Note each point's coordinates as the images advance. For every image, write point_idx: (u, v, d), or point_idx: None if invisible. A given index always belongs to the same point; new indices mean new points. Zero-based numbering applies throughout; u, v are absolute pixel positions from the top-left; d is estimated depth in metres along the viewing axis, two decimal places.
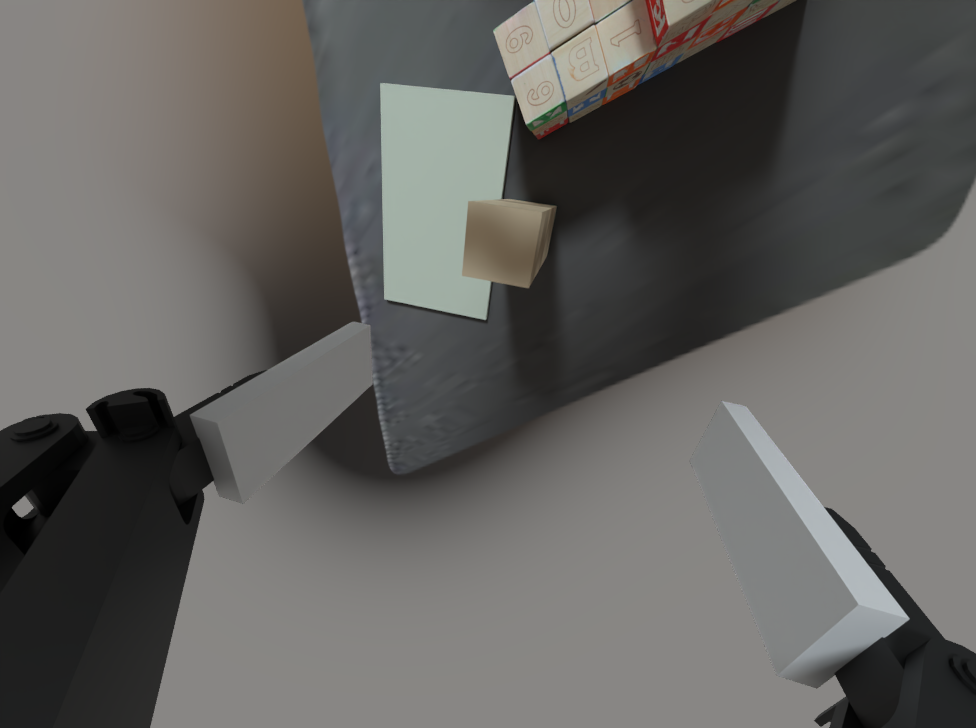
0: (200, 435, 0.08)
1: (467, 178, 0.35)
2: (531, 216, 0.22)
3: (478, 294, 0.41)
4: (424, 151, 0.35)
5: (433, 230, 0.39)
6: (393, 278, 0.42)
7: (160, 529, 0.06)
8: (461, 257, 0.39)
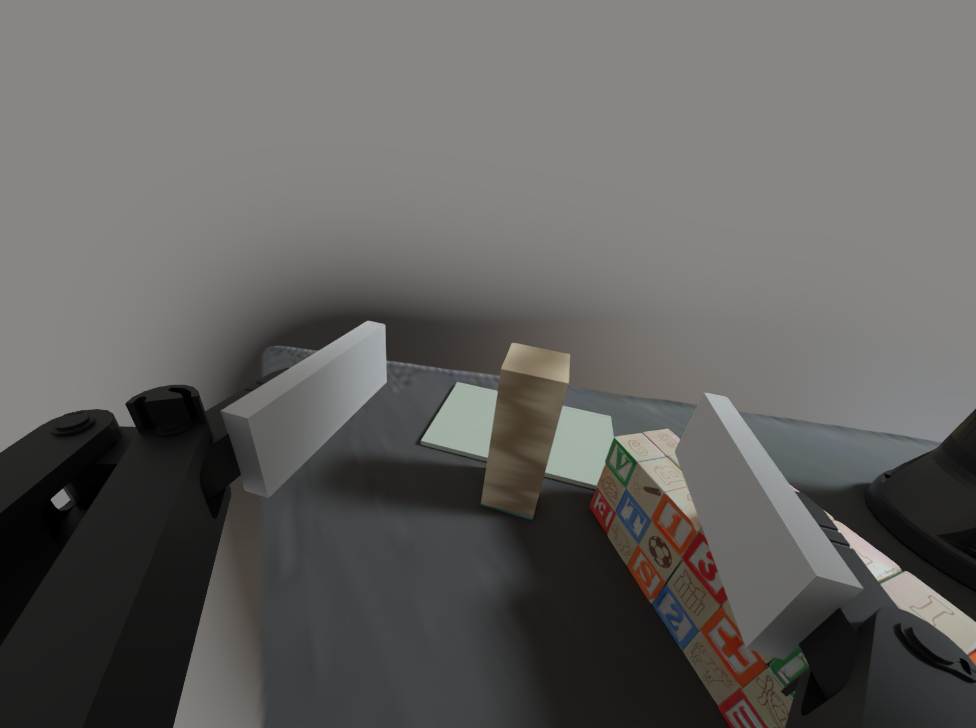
0: (230, 430, 0.08)
1: (554, 450, 0.40)
2: (564, 378, 0.25)
3: (449, 440, 0.39)
4: (571, 429, 0.43)
5: None
6: (474, 390, 0.49)
7: (190, 523, 0.07)
8: (487, 434, 0.41)
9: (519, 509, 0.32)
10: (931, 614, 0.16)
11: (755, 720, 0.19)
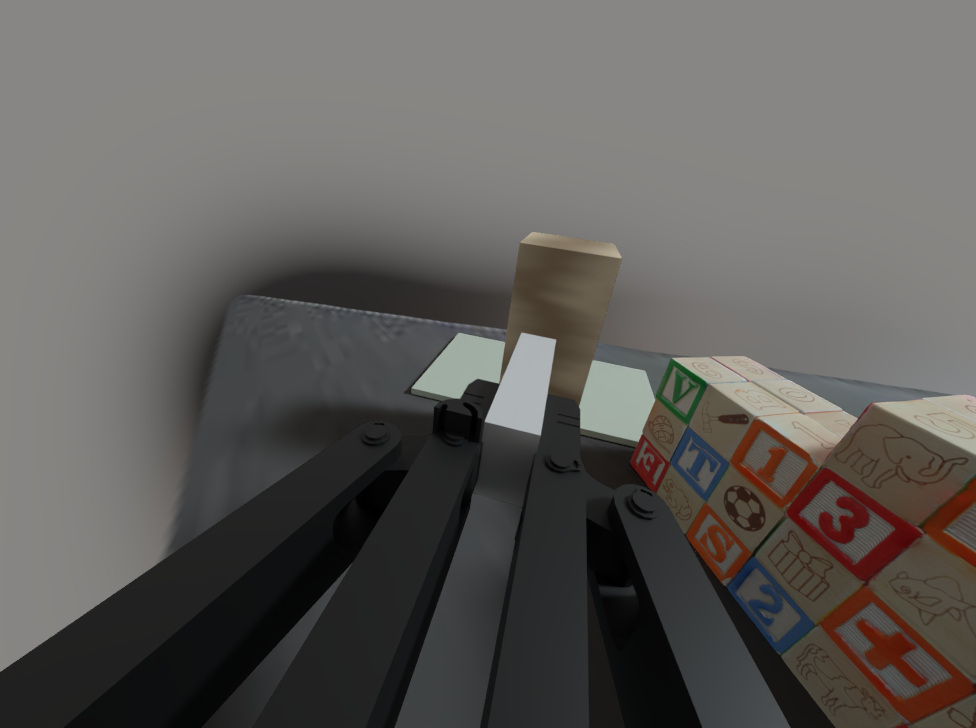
0: (486, 439, 0.09)
1: (580, 402, 0.31)
2: (613, 255, 0.17)
3: (447, 388, 0.31)
4: (599, 381, 0.35)
5: None
6: (479, 341, 0.41)
7: (447, 540, 0.07)
8: None
9: None
10: None
11: None
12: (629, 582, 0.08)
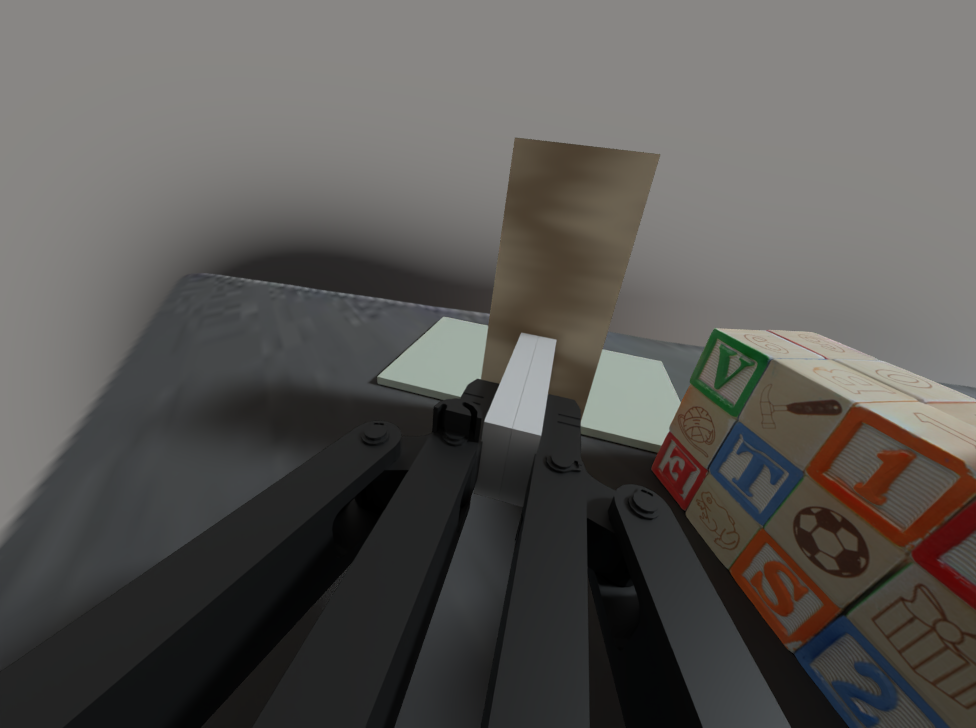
0: (486, 439, 0.09)
1: None
2: None
3: (422, 377, 0.25)
4: (608, 373, 0.29)
5: None
6: (466, 326, 0.35)
7: (447, 540, 0.07)
8: None
9: None
10: None
11: None
12: (630, 582, 0.08)
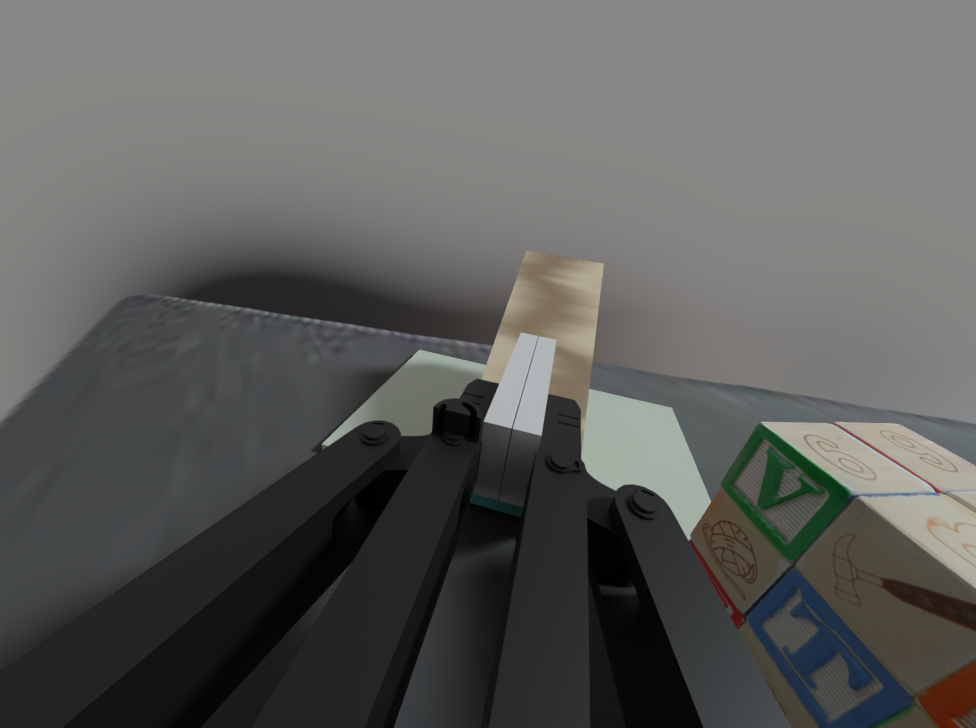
0: (485, 439, 0.09)
1: None
2: None
3: None
4: (610, 427, 0.24)
5: None
6: (445, 362, 0.30)
7: (447, 540, 0.07)
8: None
9: None
10: None
11: None
12: (630, 582, 0.08)
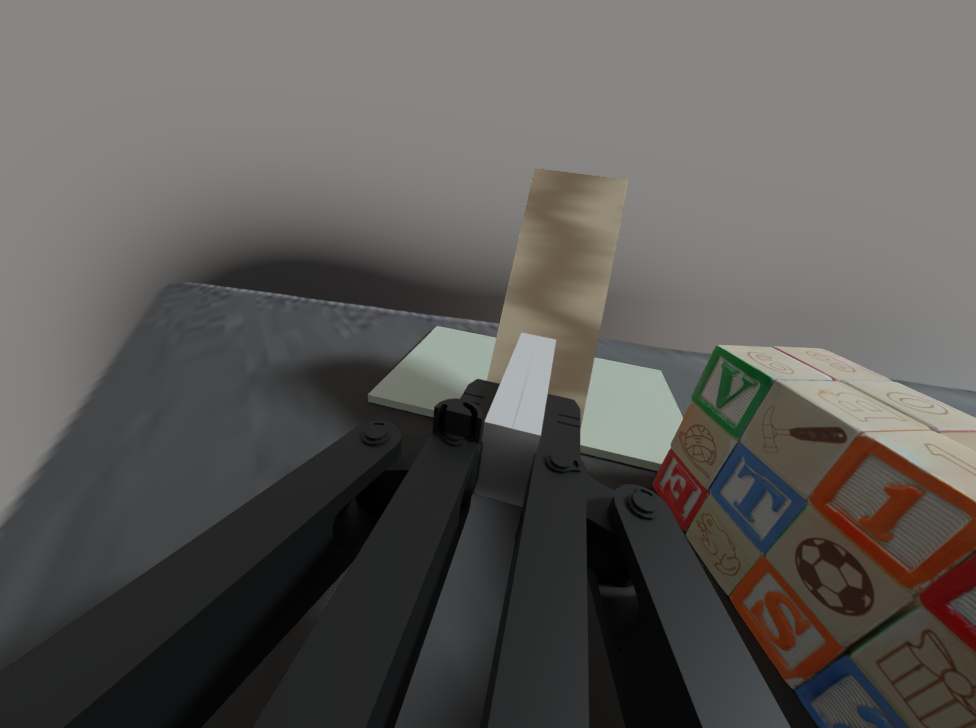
0: (486, 439, 0.09)
1: (585, 411, 0.25)
2: None
3: (415, 394, 0.24)
4: (607, 384, 0.28)
5: None
6: (461, 336, 0.34)
7: (447, 540, 0.07)
8: None
9: None
10: None
11: None
12: (629, 582, 0.08)
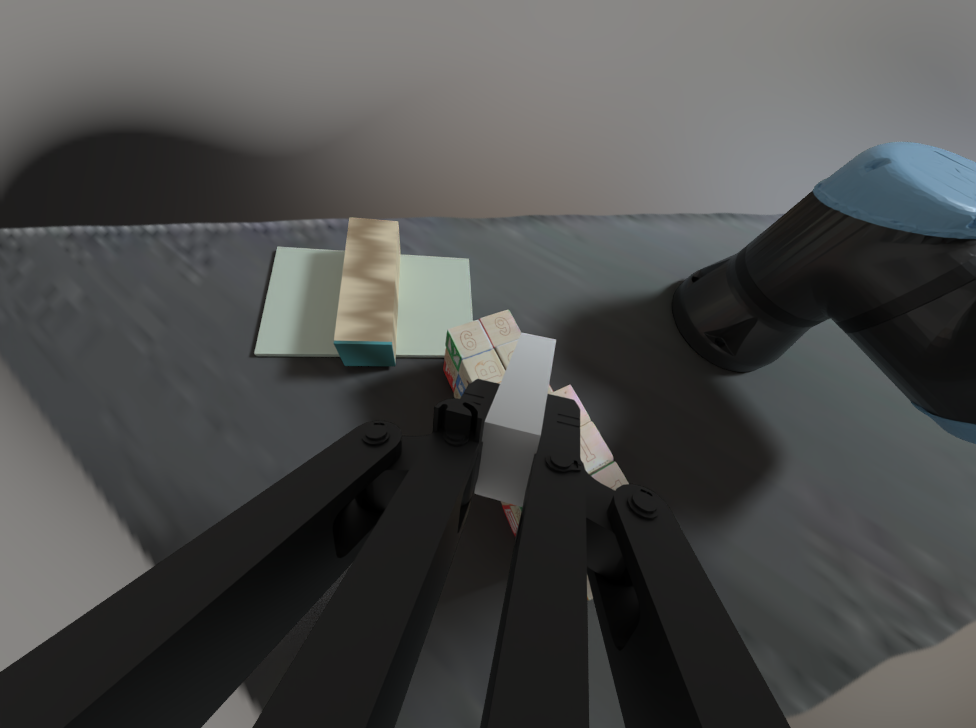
0: (486, 439, 0.09)
1: (409, 323, 0.38)
2: None
3: (288, 343, 0.35)
4: (426, 289, 0.40)
5: None
6: (303, 257, 0.39)
7: (447, 540, 0.07)
8: (332, 322, 0.37)
9: (376, 335, 0.31)
10: None
11: (514, 519, 0.30)
12: (629, 582, 0.08)
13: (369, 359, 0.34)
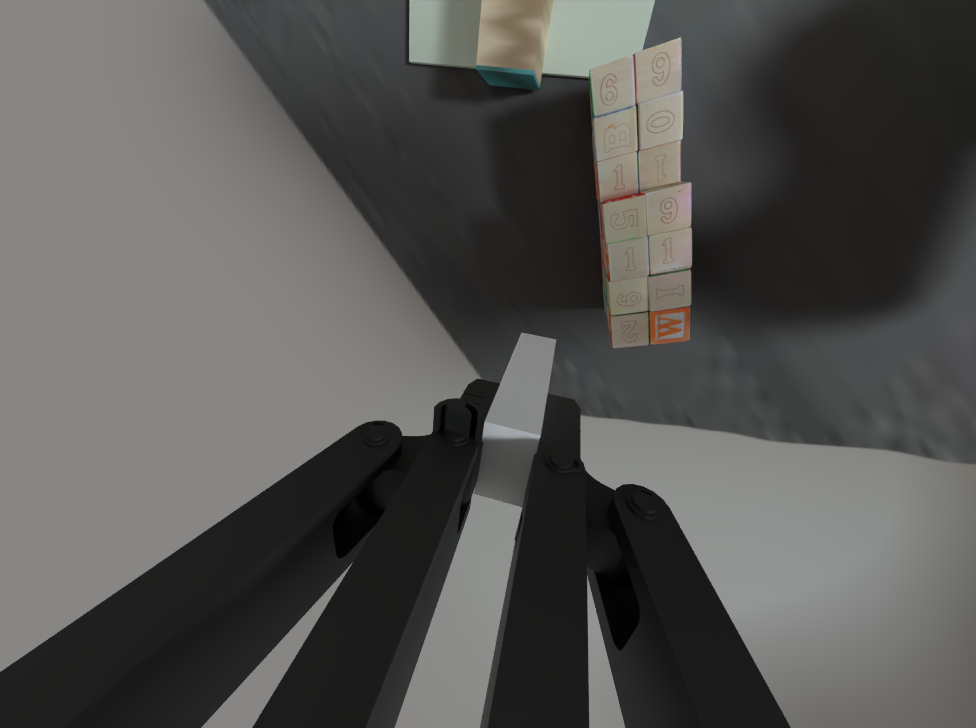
0: (486, 439, 0.09)
1: (565, 19, 0.30)
2: None
3: (437, 47, 0.33)
4: None
5: None
6: None
7: (447, 540, 0.07)
8: (478, 15, 0.32)
9: (519, 59, 0.28)
10: (665, 293, 0.28)
11: None
12: (629, 582, 0.08)
13: (512, 83, 0.32)
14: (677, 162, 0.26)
